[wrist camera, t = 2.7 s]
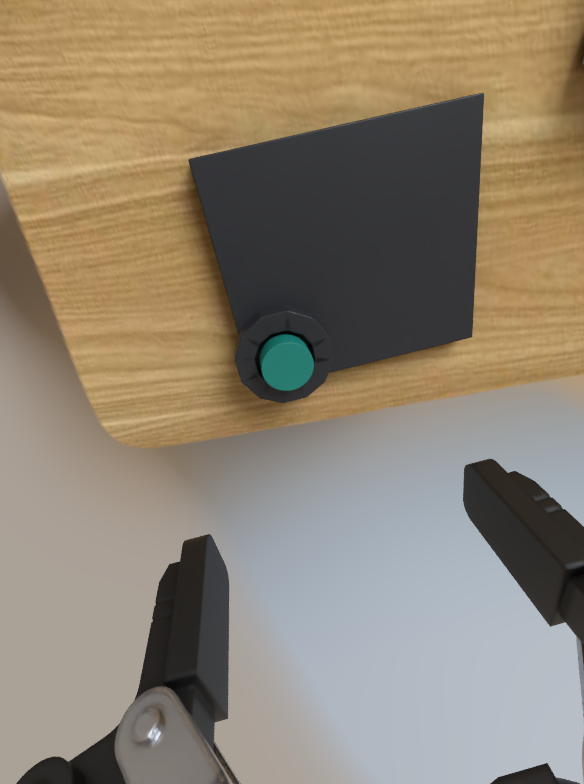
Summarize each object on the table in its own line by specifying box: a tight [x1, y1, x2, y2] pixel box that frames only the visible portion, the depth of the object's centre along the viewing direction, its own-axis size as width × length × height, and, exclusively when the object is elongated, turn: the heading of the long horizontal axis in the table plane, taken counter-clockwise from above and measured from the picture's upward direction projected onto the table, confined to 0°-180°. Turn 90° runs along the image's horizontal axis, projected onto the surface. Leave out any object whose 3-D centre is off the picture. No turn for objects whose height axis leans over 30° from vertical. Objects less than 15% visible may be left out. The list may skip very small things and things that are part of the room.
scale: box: [189, 93, 484, 403], centre depth 22 cm, size 16×14×3 cm
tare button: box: [260, 334, 314, 391], centre depth 22 cm, size 3×3×2 cm
